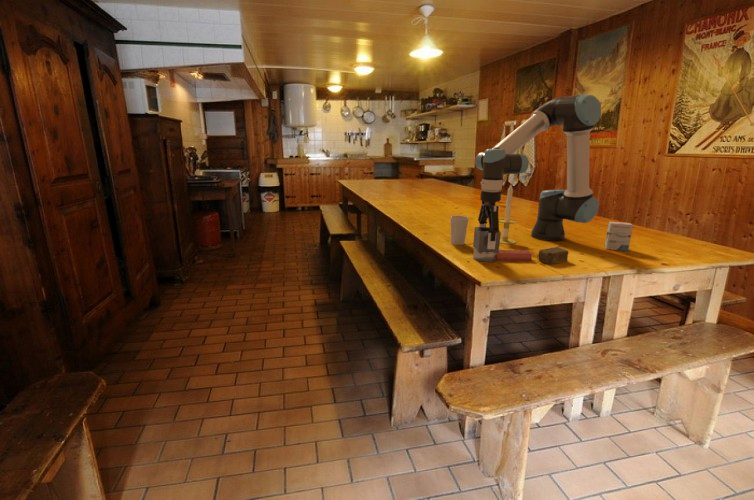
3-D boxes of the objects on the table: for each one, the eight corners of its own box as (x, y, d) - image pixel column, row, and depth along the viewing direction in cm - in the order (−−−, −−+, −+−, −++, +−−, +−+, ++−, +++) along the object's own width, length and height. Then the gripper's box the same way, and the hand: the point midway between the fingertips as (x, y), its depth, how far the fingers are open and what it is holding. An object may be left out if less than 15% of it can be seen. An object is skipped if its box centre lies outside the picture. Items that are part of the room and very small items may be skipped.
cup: (466, 246, 177) (468, 219, 174) (448, 244, 179) (450, 218, 175) (466, 241, 185) (468, 216, 181) (449, 240, 186) (450, 215, 183)
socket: (492, 246, 163) (494, 227, 160) (498, 252, 155) (500, 232, 153) (473, 246, 163) (474, 227, 160) (478, 251, 155) (480, 231, 153)
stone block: (536, 261, 158) (538, 249, 157) (556, 257, 163) (558, 246, 162) (548, 265, 153) (550, 253, 152) (568, 261, 158) (570, 249, 157)
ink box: (625, 248, 178) (630, 222, 174) (628, 251, 173) (633, 225, 170) (604, 246, 180) (608, 221, 177) (606, 249, 176) (610, 223, 172)
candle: (492, 238, 192) (498, 181, 184) (514, 239, 190) (521, 182, 182) (494, 243, 182) (500, 184, 175) (517, 244, 181) (524, 185, 173)
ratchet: (524, 255, 165) (527, 235, 162) (533, 262, 156) (536, 241, 154) (470, 255, 164) (472, 235, 162) (476, 262, 156) (478, 240, 153)
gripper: (473, 186, 164) (469, 236, 170) (490, 195, 140) (485, 253, 146) (491, 186, 164) (486, 236, 170) (512, 195, 140) (505, 253, 146)
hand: (486, 244), depth 158 cm, fingers open, 13 cm apart
